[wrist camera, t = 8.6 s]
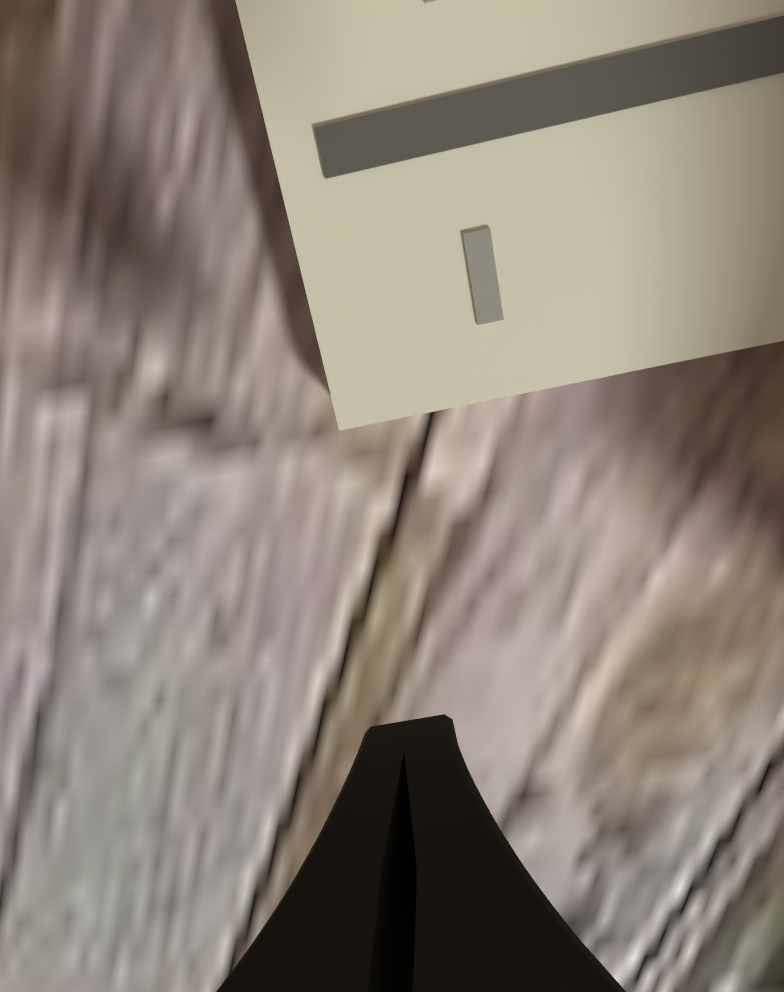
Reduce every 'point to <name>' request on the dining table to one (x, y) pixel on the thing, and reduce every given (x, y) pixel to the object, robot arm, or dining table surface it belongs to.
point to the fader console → (524, 187)
